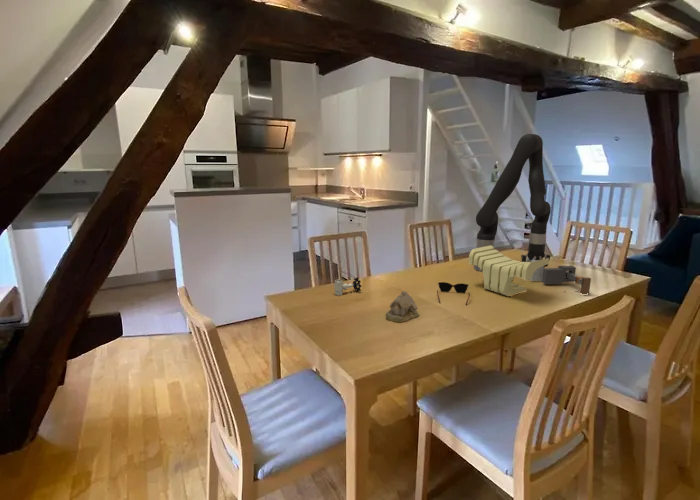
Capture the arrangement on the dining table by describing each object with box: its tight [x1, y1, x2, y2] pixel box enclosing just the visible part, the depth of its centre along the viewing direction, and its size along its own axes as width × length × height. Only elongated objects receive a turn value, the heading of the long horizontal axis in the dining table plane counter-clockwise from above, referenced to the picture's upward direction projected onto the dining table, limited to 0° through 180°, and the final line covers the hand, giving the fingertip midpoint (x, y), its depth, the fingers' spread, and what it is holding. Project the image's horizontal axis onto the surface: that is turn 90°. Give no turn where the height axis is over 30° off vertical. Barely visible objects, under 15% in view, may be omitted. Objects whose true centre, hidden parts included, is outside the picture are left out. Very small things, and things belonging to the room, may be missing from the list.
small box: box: [526, 257, 545, 282], centre depth 199 cm, size 8×6×10 cm
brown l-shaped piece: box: [557, 265, 592, 294], centre depth 186 cm, size 10×21×8 cm, turn 2°
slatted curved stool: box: [468, 245, 550, 297], centre depth 182 cm, size 30×16×18 cm, turn 33°
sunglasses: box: [436, 281, 471, 306], centre depth 174 cm, size 14×16×5 cm
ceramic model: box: [385, 291, 420, 323], centre depth 155 cm, size 14×11×10 cm
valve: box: [333, 277, 362, 297], centre depth 182 cm, size 7×7×12 cm
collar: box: [542, 265, 577, 285], centre depth 190 cm, size 14×3×8 cm, turn 92°
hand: (533, 274), depth 200 cm, fingers closed on small box, 5 cm apart
